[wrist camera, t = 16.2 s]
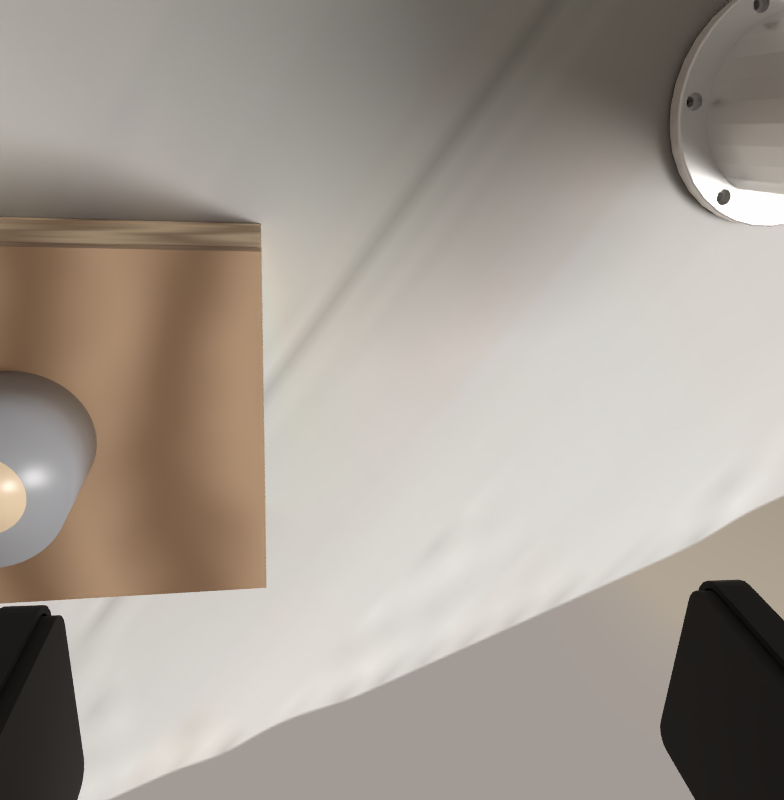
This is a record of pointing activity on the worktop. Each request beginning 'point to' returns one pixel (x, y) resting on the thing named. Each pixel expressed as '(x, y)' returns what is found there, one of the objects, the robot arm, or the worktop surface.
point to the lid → (146, 413)
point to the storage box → (130, 234)
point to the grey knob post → (39, 461)
